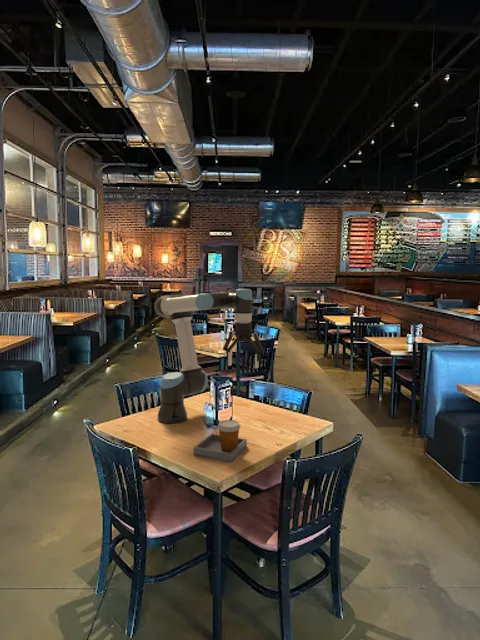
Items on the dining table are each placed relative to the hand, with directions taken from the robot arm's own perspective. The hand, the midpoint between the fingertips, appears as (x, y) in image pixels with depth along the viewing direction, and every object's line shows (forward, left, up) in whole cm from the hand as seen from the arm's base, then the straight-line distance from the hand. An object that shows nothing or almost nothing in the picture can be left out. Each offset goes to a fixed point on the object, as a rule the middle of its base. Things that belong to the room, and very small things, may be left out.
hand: (243, 366), depth 206 cm
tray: (0, -25, -32) cm, 40 cm away
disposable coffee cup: (+4, -25, -31) cm, 40 cm away
